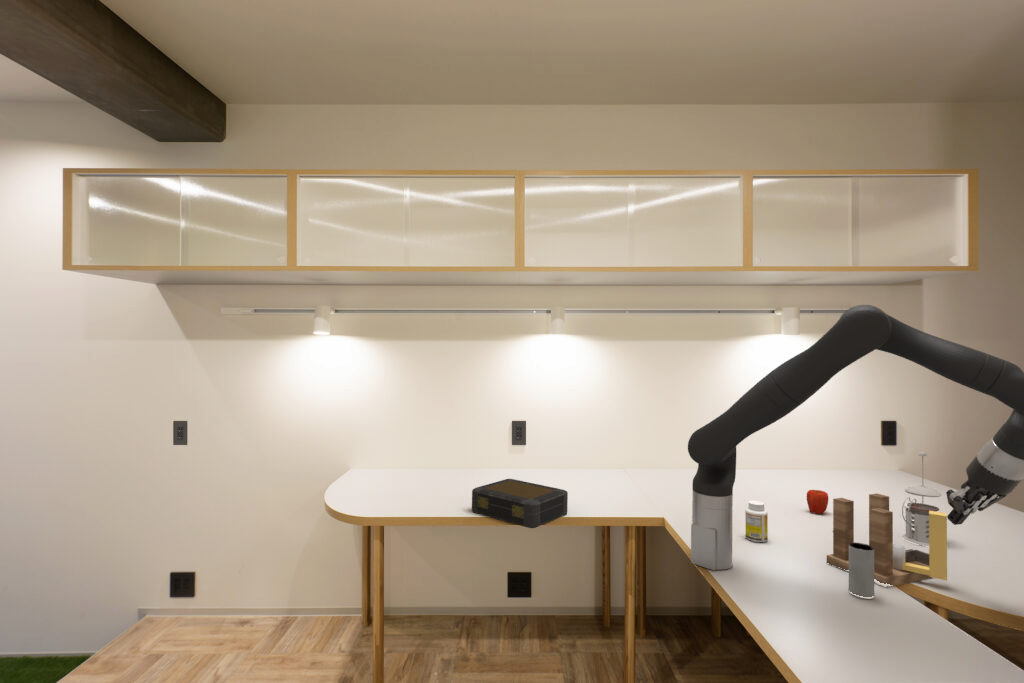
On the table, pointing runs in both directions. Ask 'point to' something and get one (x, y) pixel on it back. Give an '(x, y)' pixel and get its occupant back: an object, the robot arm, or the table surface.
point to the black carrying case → (520, 502)
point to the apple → (817, 501)
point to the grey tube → (861, 569)
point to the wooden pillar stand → (873, 541)
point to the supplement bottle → (756, 522)
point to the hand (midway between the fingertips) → (953, 521)
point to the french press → (919, 513)
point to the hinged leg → (935, 550)
